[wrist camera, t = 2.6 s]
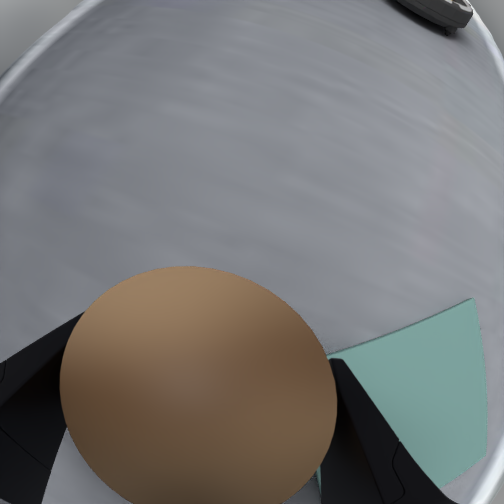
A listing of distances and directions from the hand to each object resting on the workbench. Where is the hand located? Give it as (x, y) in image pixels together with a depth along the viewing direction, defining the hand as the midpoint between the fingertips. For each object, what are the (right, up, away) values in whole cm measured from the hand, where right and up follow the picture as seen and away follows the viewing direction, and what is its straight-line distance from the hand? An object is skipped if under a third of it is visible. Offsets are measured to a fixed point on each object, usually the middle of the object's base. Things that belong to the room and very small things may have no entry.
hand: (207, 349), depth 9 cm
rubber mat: (+12, -8, +6) cm, 16 cm away
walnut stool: (-1, -3, +7) cm, 8 cm away
